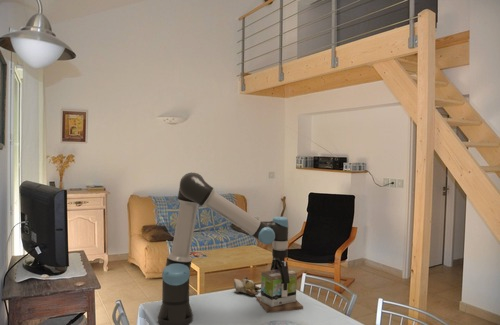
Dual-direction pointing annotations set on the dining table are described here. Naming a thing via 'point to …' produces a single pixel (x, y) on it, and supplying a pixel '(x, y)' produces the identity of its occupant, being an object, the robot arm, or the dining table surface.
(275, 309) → the walnut board
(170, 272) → the robot arm
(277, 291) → the tea box
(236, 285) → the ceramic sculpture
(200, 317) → the dining table surface
